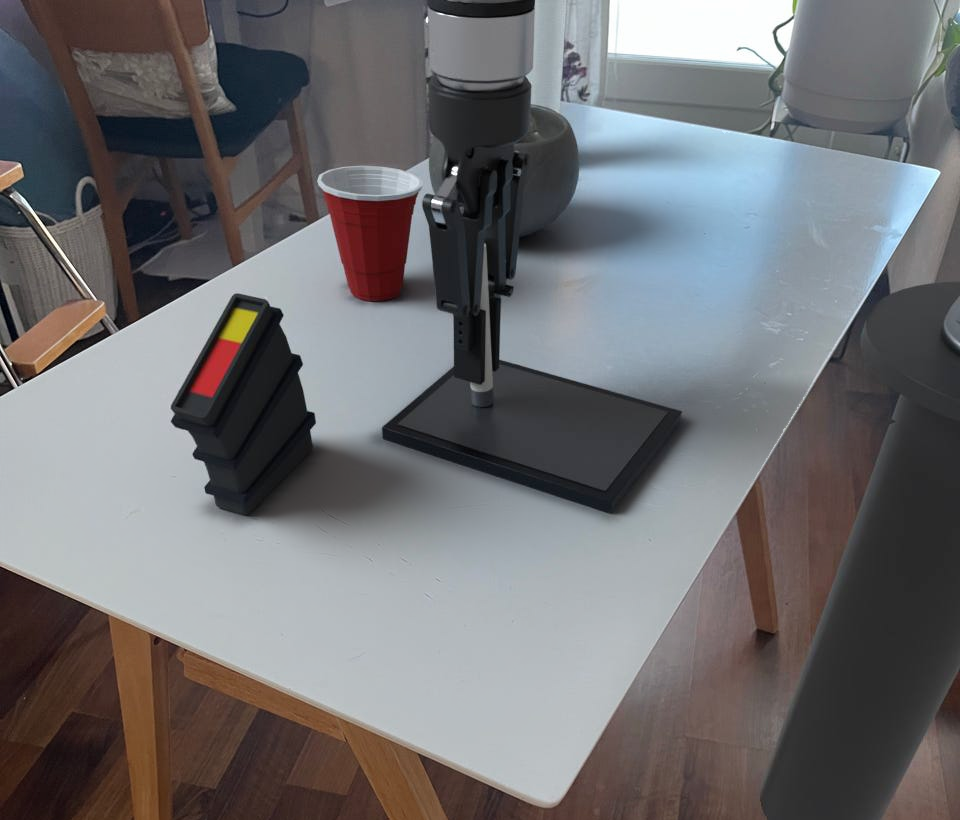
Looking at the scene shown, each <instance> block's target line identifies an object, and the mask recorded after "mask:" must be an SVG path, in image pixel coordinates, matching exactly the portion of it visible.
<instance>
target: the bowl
mask: <svg viewBox="0 0 960 820" xmlns="http://www.w3.org/2000/svg"><path fill="white" fill-rule="evenodd" d="M514 146H515V151H518V152H523V153H528V154H529V155H530V164H529V168H528V172H527V176H526V181H525V185H524V194H523V204H522V214H521V224H520V234H519V238H522V237H526V236H528V235H531V234H534V233H536V232H538V231H540V230H542V229H543V228H546V227H547V226H548V225H550V224H551V223H553V222H554V221H555V220H556V219H558V218H559V217H560V215H562V213H563V212H564V211H565V210H566V209H567V207H568V206H569V205H570V203H571V201H572V199H573V197H574V195H575V193H576V189H577V185H578V181H579V177H580V176H579V175H580V155H579V146H578V141H577V138H576V135H575V132H574V130H573V127H572V125H571V123H570V122H569V120H568V119H567V117H565V116H564V115H562V114H561V113H560V114H559V113H557V112H556V111H554V110H552V109H550V108H547V107H543V106H539V105H534V104H531V109H530V128H529V132H528V134H527V135H526V136H525V137H524V138H523V139H522V140H520V141H519V142H516V143H514ZM444 152H445V148H444V146H443V144H442V143H441V142H440V141H439V140H438V139H437V138H436V137H434V136H433V137H432V140H431V144H430V149H429V155H428V173H429V180H430V185H431V188H432V191H433V193H434V194H433V195H436V194H437V193H438V191H439V189H440V187H441V186H442V184H443V181H442V177H441V170H442V165H443V160H444Z"/></svg>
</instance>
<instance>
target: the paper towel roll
mask: <svg viewBox="0 0 960 820" xmlns="http://www.w3.org/2000/svg"><path fill="white" fill-rule="evenodd" d="M567 4H568V0H535V20H534V51H533V69H532V70H531V72H530V73H529V74H528V75H527V76H526V77H527V78H528V80H529V82H530V83H531V104H534V105H539V106H543V107H547V108H550V109H552V110H554V111H556V112H557V113H559V114H561V100H562V84H563V83H562V82H563V70H564V69H563V68H564V56H565V55H564V53H565V38H566V22H567V21H566V20H567V6H568V5H567Z"/></svg>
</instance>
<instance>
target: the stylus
mask: <svg viewBox="0 0 960 820" xmlns="http://www.w3.org/2000/svg"><path fill="white" fill-rule="evenodd" d="M480 309H482V310H485V311H486V339H485V381H484V382H483V383H482V384H481V385H479V384H476V383H472V382H470V383H471V399H472V404H473V405H474V406H477V407H487V406H490V405H491V404H492V403H493V402H494V397H493V376H492V355H491V334H490V313H489V292H488V272H487V251H486V244H485V243H484V257H483V273H482V290H481V306H480Z"/></svg>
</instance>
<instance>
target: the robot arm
mask: <svg viewBox="0 0 960 820" xmlns="http://www.w3.org/2000/svg"><path fill="white" fill-rule="evenodd" d="M426 5H427V16H426V18H425V27H426V28H427V61H428V62H427V64H428V68H429V70H430V71H431V72H432V73H433V74H434V75H433V76H432V77H431V78H430V80H429V81H428V83H427V89H428V90H427V91H428V93H427V94H428V95H427V96H428V98H427V99H428V129H429V132H430V133H431V134H432V136H433V137H436V138H437V139H438V140H439V141H440V142H441V143H442V144H443V146H444V148H445V152H444V160H443V165H442V170H441V177H442V181H443V184H442V186H441V187H440V189H439V191H438V193H437V194H436V195H435V194H431V193H425V194H424V196H423V197H422V202H421V207H422V210H423V213H424V217H425V219H426V222H427V225H428V231H429V232H428V233H429V242H430V253H431V262H432V271H433V283H434V290H435V302H436V308H437V309H436V310H438V311H441V312H443V313H447V314H451V315H452V316H453V317H452V319H453V366H454V377H455V378H459V379H462V380H466V381H469V382H472V383H476V384H479V385H481V384H482V383H483V382H484V381H485V339H486V311H485V310H482V309H480V306H481V290H482V273H483V257H484V243H485V244H486V251H487V272H488V292H489V313H490V334H491V355H492V371H494V372H495V371H496V370H498V369H499V360H500V353H501V351H500V348H501V347H500V346H501V316H502V315H501V313H502V312H501V311H502V298H501V296H503V297H507V298H511V297H512V295H513V293H514V289H515V286H513V285H509V284H507V280H509V281H512V280H513V279H515V277H516V272H517V262H518V252H519V244H520V243H519V242H520V237H519V234H520V224H521V214H522V204H523V194H524V185H525V181H526V176H527V172H528V168H529V164H530V155H529V154H528V153H523V152H518V151H515V146H514V143H516V142H519V141H520V140H522V139H523V138H524V137H525V136H526V135H527V134H528V132H529V128H530V109H531V83H530V82H529V80H528V78H527V77H526V76H527V75H528V74H529V73H530V72H531V70H532V69H533V51H534V20H535V0H426ZM941 337H942V339H943V341H944V343H945V344H946V345H947V346H948V347H949V349H950V350H952V351H953V352H954V353H955V354H957V355H958V356H959V357H960V296H959V297H958V298H957V300H956V301H955V302H954V304H953V305H952V306H951V308H950V310H949V311H948V313H947V315H946V317H945V320H944V323H943V325H942V328H941Z"/></svg>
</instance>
